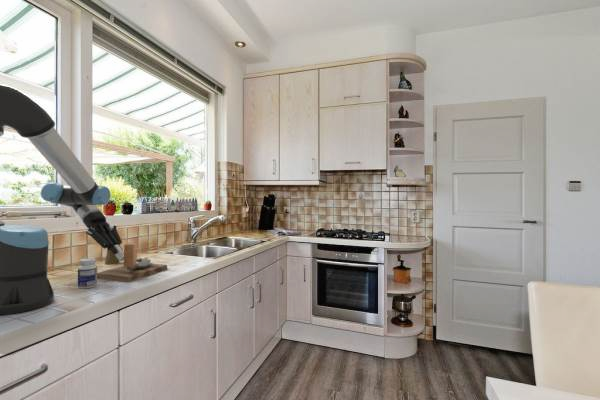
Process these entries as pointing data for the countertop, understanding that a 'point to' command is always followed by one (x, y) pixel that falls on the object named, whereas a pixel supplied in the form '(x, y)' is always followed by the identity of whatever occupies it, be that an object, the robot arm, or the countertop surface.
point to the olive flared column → (111, 258)
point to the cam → (134, 258)
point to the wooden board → (130, 273)
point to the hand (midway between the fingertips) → (123, 258)
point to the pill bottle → (87, 273)
